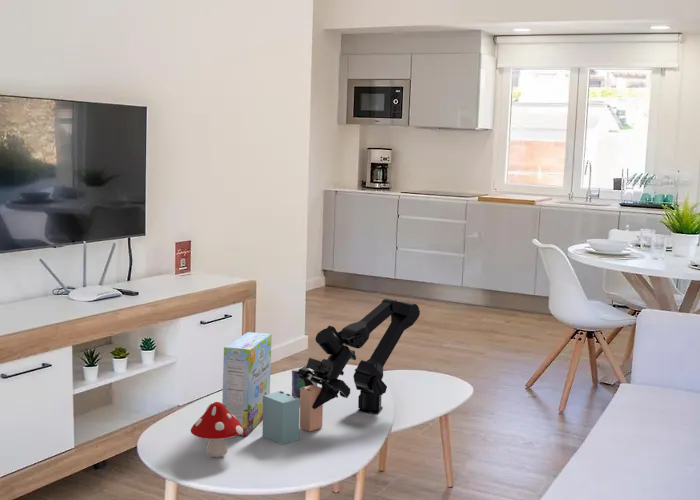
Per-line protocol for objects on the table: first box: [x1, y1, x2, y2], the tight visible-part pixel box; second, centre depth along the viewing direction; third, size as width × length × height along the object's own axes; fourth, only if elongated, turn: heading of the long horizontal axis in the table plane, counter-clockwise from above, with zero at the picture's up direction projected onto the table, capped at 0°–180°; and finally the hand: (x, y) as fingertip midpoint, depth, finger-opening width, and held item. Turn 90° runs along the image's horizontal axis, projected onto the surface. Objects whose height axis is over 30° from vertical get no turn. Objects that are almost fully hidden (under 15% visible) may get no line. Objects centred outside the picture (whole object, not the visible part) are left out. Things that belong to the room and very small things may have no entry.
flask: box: [291, 364, 318, 399], centre depth 270 cm, size 9×3×11 cm, turn 65°
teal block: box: [262, 390, 300, 446], centre depth 232 cm, size 6×9×12 cm, turn 45°
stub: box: [299, 385, 324, 432], centre depth 240 cm, size 5×4×12 cm
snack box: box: [221, 331, 272, 437], centre depth 243 cm, size 22×9×26 cm, turn 168°
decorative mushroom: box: [190, 401, 243, 458], centre depth 218 cm, size 14×14×15 cm
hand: (307, 406), depth 239 cm, fingers closed on stub, 4 cm apart
